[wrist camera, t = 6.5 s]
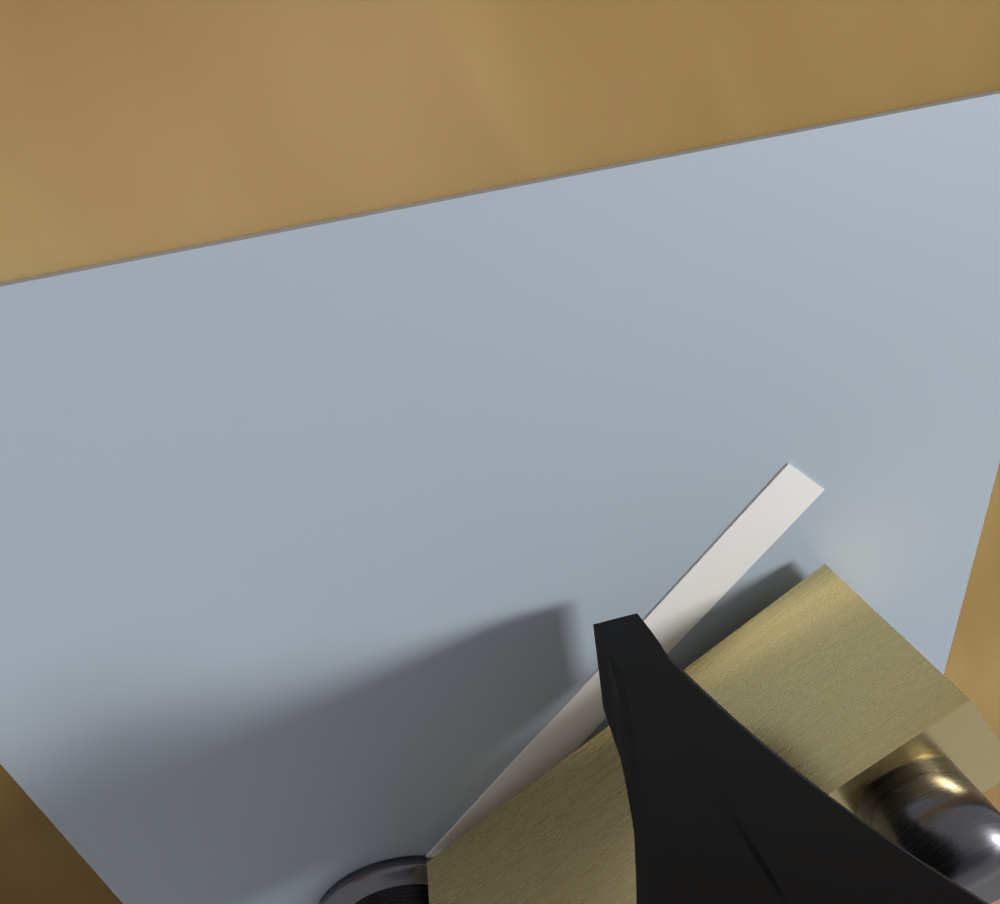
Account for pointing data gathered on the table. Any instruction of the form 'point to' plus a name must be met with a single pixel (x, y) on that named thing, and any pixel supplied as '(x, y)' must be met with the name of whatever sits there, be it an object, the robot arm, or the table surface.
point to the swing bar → (790, 734)
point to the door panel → (472, 482)
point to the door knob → (383, 883)
